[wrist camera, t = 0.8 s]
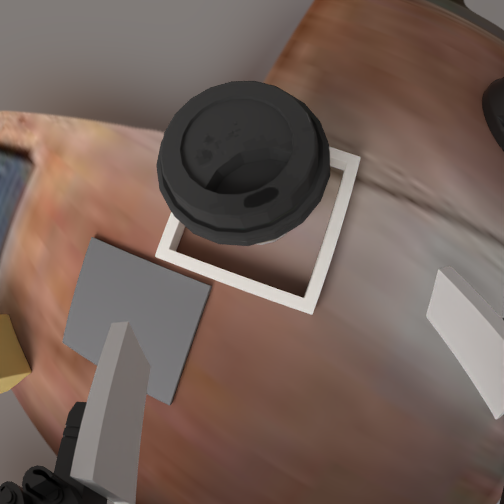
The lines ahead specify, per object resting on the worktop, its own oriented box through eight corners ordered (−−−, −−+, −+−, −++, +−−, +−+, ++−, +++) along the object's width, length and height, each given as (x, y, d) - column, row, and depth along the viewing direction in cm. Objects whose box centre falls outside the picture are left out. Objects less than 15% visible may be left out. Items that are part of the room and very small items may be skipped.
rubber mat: (212, 286, 31) (210, 286, 30) (171, 403, 30) (169, 405, 29) (94, 237, 33) (91, 236, 33) (65, 341, 32) (62, 342, 32)
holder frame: (357, 164, 31) (360, 157, 29) (310, 313, 29) (312, 314, 27) (217, 125, 33) (213, 116, 31) (162, 258, 32) (154, 256, 30)
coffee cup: (229, 282, 31) (175, 272, 16) (192, 185, 33) (128, 113, 18) (334, 238, 30) (371, 189, 15) (288, 144, 32) (283, 48, 17)
